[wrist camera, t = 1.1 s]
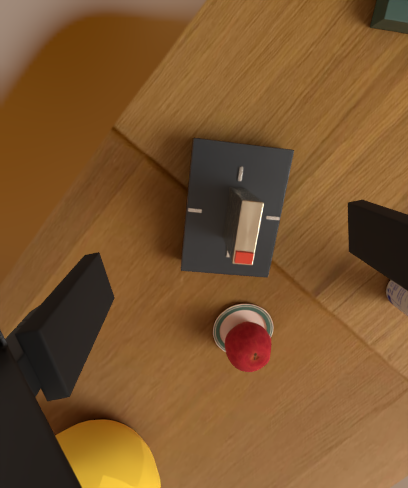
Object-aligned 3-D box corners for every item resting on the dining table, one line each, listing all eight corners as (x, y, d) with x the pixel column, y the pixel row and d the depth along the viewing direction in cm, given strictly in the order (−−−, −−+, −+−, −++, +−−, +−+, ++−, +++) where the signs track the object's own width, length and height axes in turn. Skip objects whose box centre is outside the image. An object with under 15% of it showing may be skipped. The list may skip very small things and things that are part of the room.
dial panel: (192, 138, 31) (193, 137, 28) (284, 149, 32) (295, 150, 29) (181, 260, 35) (180, 271, 32) (261, 267, 36) (268, 278, 33)
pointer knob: (229, 186, 30) (242, 200, 23) (247, 188, 30) (265, 203, 23) (222, 238, 32) (232, 265, 25) (238, 239, 32) (253, 266, 25)
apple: (255, 291, 37) (269, 321, 31) (281, 335, 40) (299, 371, 34) (201, 319, 38) (204, 354, 32) (230, 361, 41) (238, 400, 35)
